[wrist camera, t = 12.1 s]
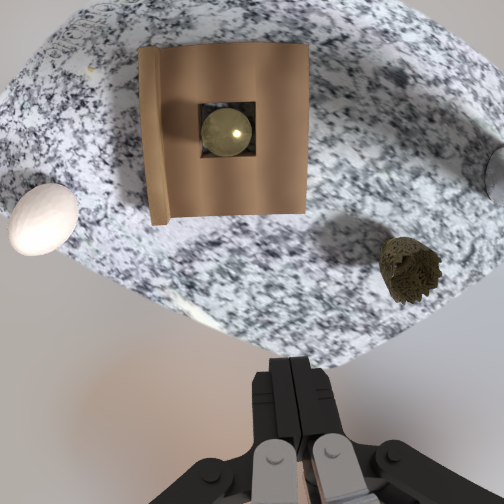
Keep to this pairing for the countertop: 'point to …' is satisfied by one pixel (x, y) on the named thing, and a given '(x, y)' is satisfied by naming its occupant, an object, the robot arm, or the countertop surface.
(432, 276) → the cup
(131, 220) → the countertop surface
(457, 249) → the countertop surface
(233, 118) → the brass cylinder peg
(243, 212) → the jig
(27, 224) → the egg
